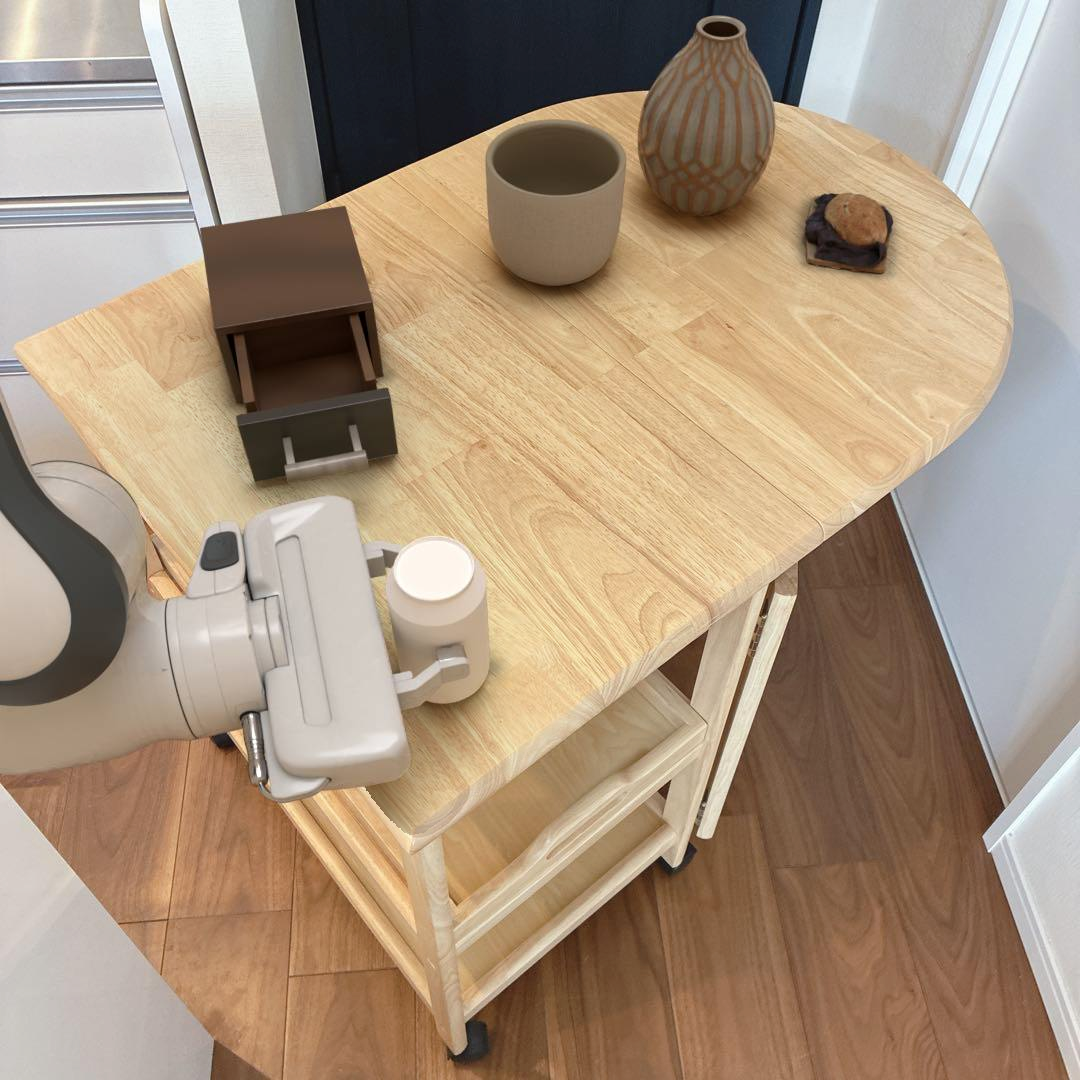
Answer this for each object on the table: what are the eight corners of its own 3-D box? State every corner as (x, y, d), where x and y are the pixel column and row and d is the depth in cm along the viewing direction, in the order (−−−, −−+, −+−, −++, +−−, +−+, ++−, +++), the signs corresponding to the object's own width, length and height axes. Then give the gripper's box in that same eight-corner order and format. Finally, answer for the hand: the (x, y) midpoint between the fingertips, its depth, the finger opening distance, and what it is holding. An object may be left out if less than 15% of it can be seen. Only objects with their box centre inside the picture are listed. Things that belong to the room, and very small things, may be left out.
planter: (642, 276, 100) (653, 174, 91) (526, 316, 96) (526, 213, 88) (577, 207, 107) (582, 105, 98) (466, 242, 103) (461, 139, 94)
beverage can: (448, 617, 76) (437, 510, 66) (509, 670, 73) (506, 566, 64) (382, 670, 73) (360, 567, 64) (443, 727, 70) (430, 627, 61)
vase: (625, 162, 112) (640, -7, 98) (748, 159, 112) (779, -9, 99) (639, 238, 104) (657, 65, 90) (771, 234, 104) (809, 62, 91)
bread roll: (807, 201, 108) (814, 168, 105) (891, 212, 107) (901, 180, 104) (799, 263, 102) (807, 231, 99) (888, 276, 100) (899, 244, 98)
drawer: (409, 493, 82) (401, 436, 77) (260, 523, 80) (243, 467, 75) (370, 352, 92) (362, 294, 87) (238, 375, 90) (221, 317, 85)
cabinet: (383, 376, 91) (373, 301, 85) (235, 403, 89) (213, 328, 83) (356, 279, 99) (345, 205, 93) (220, 302, 97) (199, 227, 91)
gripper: (240, 786, 57) (491, 724, 59) (207, 503, 69) (416, 462, 71) (263, 833, 62) (493, 774, 64) (228, 562, 74) (423, 521, 76)
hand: (452, 607), depth 68 cm, fingers open, 7 cm apart
